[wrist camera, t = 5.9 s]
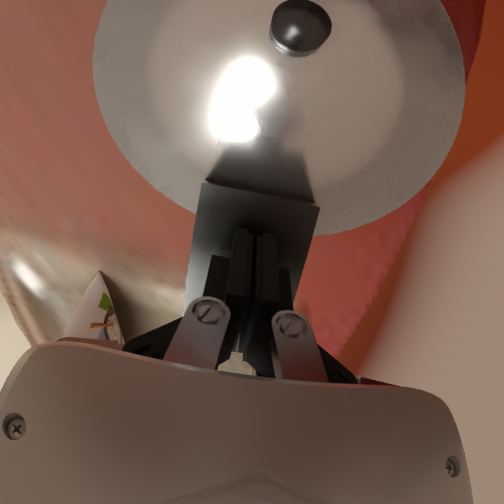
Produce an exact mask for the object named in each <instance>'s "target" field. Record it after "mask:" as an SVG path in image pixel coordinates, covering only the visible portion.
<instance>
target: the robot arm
mask: <svg viewBox="0 0 504 504" xmlns="http://www.w3.org/2000/svg"><path fill="white" fill-rule="evenodd" d="M252 249H253V252H252ZM239 334H240V336H239ZM238 338H239V349H238V352H240V353H243V361H246V362H248V363H249V364H250V365H251V366H252V367H253V369H252V375H244V374H237V373H231V372H224V371H218V366H219V365H220V364H221V363H223V362H225V361H226V360H228V359H230V355H231V351H233V352H234V351H235V348H236V345H237V341H238ZM0 504H473V498H472V490H471V484H470V478H469V473H468V468H467V463H466V458H465V453H464V449H463V446H462V442H461V439H460V435H459V432H458V429H457V426H456V423H455V421H454V418H453V416H452V413H451V411H450V409H449V408H448V406H447V405H446V403H445V402H444V401H443V400H442V399H440V398H439V397H437V396H435V395H434V394H431V393H429V392H426V391H423V390H420V389H415V388H411V387H402V386H397V385H393V384H389V383H384V382H380V381H376V380H372V379H368V378H364V377H360V378H359V379H357V378H355V376H354V375H353V374H352V373H351V372H350V371H349V370H348V369H347V368H345V367H344V366H343V365H342V364H340V363H339V362H338V361H337V360H336V359H335V358H334V357H332V356H331V355H330V354H329V353H328V352H326V351H325V350H324V349H323V348H322V347H320V346H319V345H318V344H317V342H316V339H315V336H314V333H313V330H312V327H311V324H310V322H309V321H308V320H307V318H306V317H305V316H303V315H302V314H300V313H298V312H295V311H293V301H292V291H291V281H290V272H289V269H287V268H282V267H278V261H277V246H276V235H272V234H267V233H262V235H261V236H260V235H257V236H256V240H255V244H254V248H253V234H249V230H247V229H242V228H236V229H235V234H234V238H233V243H232V248H231V253H230V258H228V257H223V256H218V255H212V257H211V261H210V265H209V269H208V274H207V278H206V282H205V287H204V291H203V296H202V297H199V298H196V299H194V300H193V301H191V303H190V304H189V305H188V307H187V309H186V312H185V314H184V316H183V317H181V318H179V319H177V320H174V321H172V322H170V323H168V324H166V325H163V326H161V327H159V328H157V329H154V330H152V331H150V332H147V333H145V334H143V335H141V336H138V337H136V338H134V339H132V340H130V341H128V342H127V343H126V344H120V343H118V340H102V339H89V338H77V337H63V338H61V339H59V340H57V341H56V342H47V343H42V344H38V345H36V346H33V347H32V348H30V349H29V350H27V351H26V352H25V353H24V355H22V356H21V358H20V359H19V360H18V362H17V363H16V364H15V366H14V367H13V369H12V371H11V372H10V374H9V376H8V377H7V379H6V382H5V383H4V385H3V388H2V389H1V391H0Z"/></svg>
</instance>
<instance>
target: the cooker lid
mask: <svg viewBox="0 0 504 504" xmlns="http://www.w3.org/2000/svg"><path fill="white" fill-rule="evenodd" d="M93 79H94V87H95V92H96V96H97V101H98V105H99V108H100V111H101V114H102V116H103V119H104V121H105V124H106V126H107V129H108V131H109V132H110V134H111V136H112V138H113V139H114V141H115V143H116V144H117V146H118V148H119V150H120V151H121V152H122V153H123V155H124V156H125V157H126V159H127V160H128V161H129V162H130V164H131V165H132V166H133V167H134V169H135V170H136V171H137V172H138V173H139V174H140V175H141V176H142V177H143V178H145V179H146V180H147V181H148V182H149V183H150V184H151V185H152V186H153V187H154V188H155V189H157V190H158V191H159V192H161V193H162V194H164V195H165V196H166V197H168V198H169V199H170V200H172V201H173V202H175V203H176V204H178V205H180V206H181V207H183V208H185V209H187V210H189V211H191V212H192V213H194V214H196V219H195V225H194V231H193V238H192V245H191V251H190V258H189V265H188V273H187V280H186V288H185V296H184V304H183V313H182V317H183V316H184V314H185V312H186V309H187V307H188V305H189V304H190V303H191V301H193V300H194V299H196V298H199V297H202V296H203V291H204V287H205V282H206V278H207V274H208V269H209V265H210V261H211V257H212V255H218V256H223V257H228V258H230V253H231V248H232V243H233V238H234V234H235V229H236V228H242V229H247V230H249V234H253V248H254V244H255V240H256V236H257V235H260V236H261V235H262V233H267V234H272V235H276V246H277V261H278V267H282V268H287V269H289V272H290V281H291V291H292V301H294V298H295V295H296V291H297V288H298V285H299V281H300V278H301V275H302V271H303V268H304V265H305V261H306V258H307V254H308V251H309V247H310V244H311V240H312V237H313V236H320V235H328V234H334V233H338V232H342V231H346V230H350V229H354V228H357V227H359V226H362V225H365V224H367V223H370V222H372V221H375V220H377V219H379V218H381V217H383V216H385V215H386V214H388V213H390V212H392V211H393V210H395V209H397V208H399V207H400V206H401V205H403V204H404V203H405V202H407V201H408V200H409V199H410V198H412V197H413V196H414V195H416V194H417V193H418V192H419V191H420V190H421V189H422V188H423V187H424V186H425V185H426V184H427V183H428V182H429V181H430V179H431V178H432V177H433V176H434V174H435V173H436V171H437V170H438V169H439V167H440V166H441V165H442V163H443V162H444V160H445V158H446V156H447V155H448V153H449V151H450V149H451V147H452V145H453V143H454V140H455V138H456V135H457V132H458V129H459V126H460V123H461V117H462V113H463V108H464V100H465V72H464V62H463V57H462V53H461V48H460V44H459V41H458V38H457V35H456V32H455V29H454V26H453V24H452V22H451V20H450V18H449V16H448V14H447V12H446V10H445V8H444V6H443V4H442V3H441V1H440V0H108V2H107V4H106V6H105V8H104V11H103V13H102V15H101V18H100V21H99V25H98V29H97V32H96V36H95V42H94V51H93ZM252 252H253V249H252ZM239 336H240V334H239ZM238 349H239V338H238V341H237V345H236V348H235V351H234V352H238ZM239 353H240V352H239Z"/></svg>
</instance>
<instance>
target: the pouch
mask: <svg viewBox="0 0 504 504" xmlns="http://www.w3.org/2000/svg"><path fill="white" fill-rule="evenodd" d="M63 337H77V338H89V339H102V340H118V343H120V344H125V341H124V338H123V335H122V332H121V329H120V325H119V322H118V318H117V315H116V312H115V309H114V307H113V304H112V301H111V298H110V295H109V292H108V289H107V287H106V284H105V282H104V280H103V278H102V276H101V273H100V271H99V272H98V273H97V274H96V276H95V277H94V278H93V279H92V281H91V282H90V284H89V285H88V287H87V288H86V290H85V292H84V293H83V295H82V297H81V299H80V300H79V302H78V304H77V306H76V308H75V310H74V312H73V314H72V316H71V318H70V320H69V323H68V325H67V327H66V329H65V331H64V334H63V336H62V338H63Z"/></svg>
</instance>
